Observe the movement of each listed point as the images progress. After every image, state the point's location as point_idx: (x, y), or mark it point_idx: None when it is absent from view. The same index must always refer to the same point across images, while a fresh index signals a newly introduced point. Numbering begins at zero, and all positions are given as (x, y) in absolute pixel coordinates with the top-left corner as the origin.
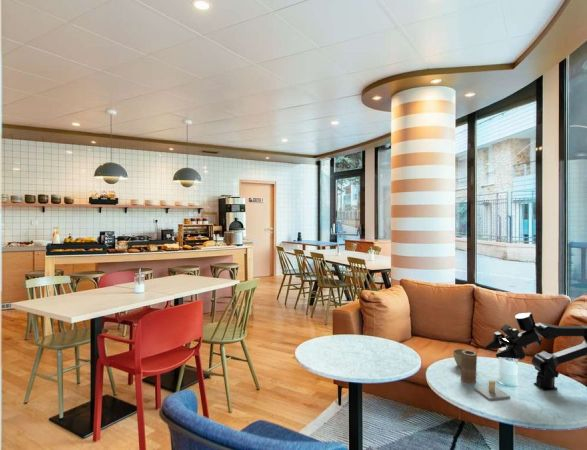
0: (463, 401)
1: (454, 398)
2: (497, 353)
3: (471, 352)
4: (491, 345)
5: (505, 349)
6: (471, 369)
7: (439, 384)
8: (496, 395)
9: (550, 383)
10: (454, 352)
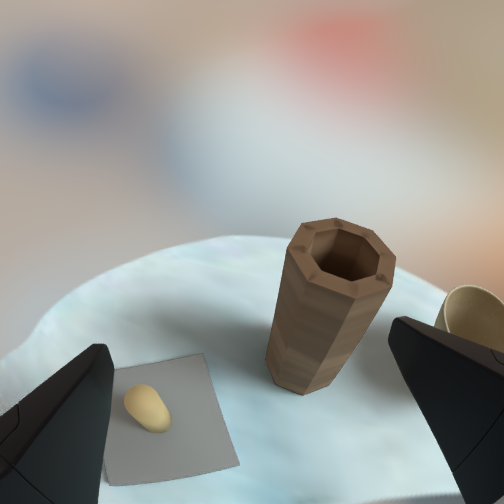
0: (104, 283)
1: (128, 265)
2: (93, 356)
3: (374, 276)
4: (441, 378)
5: (18, 449)
6: (276, 323)
7: (235, 249)
8: (117, 422)
9: None
10: (483, 301)
